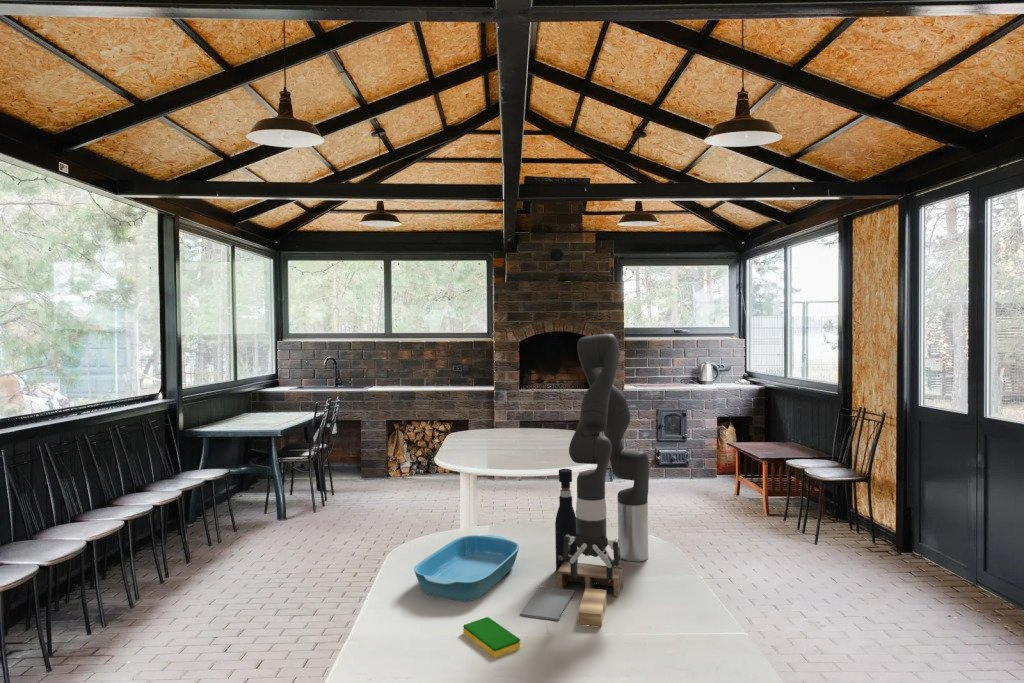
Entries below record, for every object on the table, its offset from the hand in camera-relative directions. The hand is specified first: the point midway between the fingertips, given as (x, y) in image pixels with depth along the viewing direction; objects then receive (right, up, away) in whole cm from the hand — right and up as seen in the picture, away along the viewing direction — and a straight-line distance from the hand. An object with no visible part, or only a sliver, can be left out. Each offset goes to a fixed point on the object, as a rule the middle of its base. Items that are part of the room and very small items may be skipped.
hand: (591, 579), depth 156 cm
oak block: (0, -9, +1) cm, 9 cm away
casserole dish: (-32, -9, +23) cm, 41 cm away
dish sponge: (-25, -10, -12) cm, 29 cm away
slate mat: (-11, -9, +6) cm, 15 cm away
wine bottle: (-4, -8, +27) cm, 29 cm away
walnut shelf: (+2, -8, +15) cm, 17 cm away
